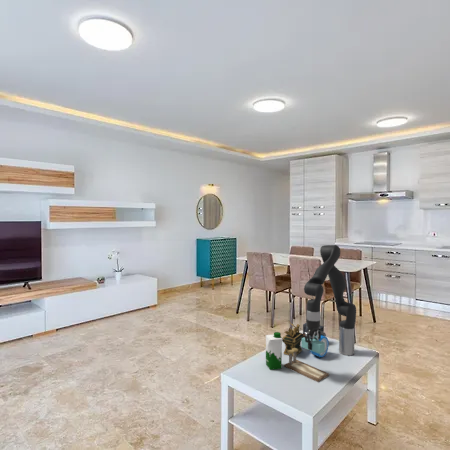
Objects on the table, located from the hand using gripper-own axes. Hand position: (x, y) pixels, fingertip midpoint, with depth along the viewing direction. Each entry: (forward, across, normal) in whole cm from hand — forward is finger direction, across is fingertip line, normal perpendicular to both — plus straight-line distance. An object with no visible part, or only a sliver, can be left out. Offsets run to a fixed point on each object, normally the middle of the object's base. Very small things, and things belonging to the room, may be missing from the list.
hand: (312, 347), depth 180 cm
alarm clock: (+15, -24, -11) cm, 30 cm away
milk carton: (+15, +10, -20) cm, 27 cm away
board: (+15, 0, -4) cm, 16 cm away
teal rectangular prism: (+1, 0, 0) cm, 1 cm away
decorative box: (+15, -14, -25) cm, 32 cm away
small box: (+15, -40, -27) cm, 51 cm away
